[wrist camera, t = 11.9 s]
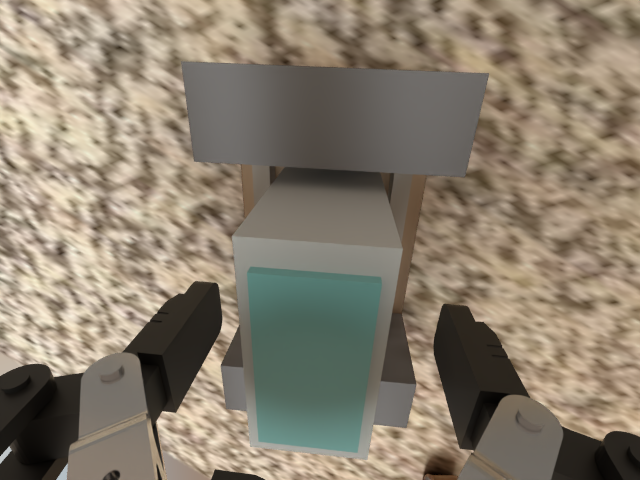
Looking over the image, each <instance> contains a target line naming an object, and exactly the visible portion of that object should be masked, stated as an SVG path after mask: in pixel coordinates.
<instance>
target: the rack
mask: <svg viewBox="0 0 640 480" xmlns="http://www.w3.org/2000/svg"><path fill="white" fill-rule="evenodd" d="M181 64H182V72H183V79H184V87H185V95H186V102H187V110H188V118H189V125H190V133H191V141H192V148H193V156H194V162H211V163H228V164H241V172H242V187H243V201H244V216H245V218H246V217H247V216H248V214H249V213H250V212H251V211H252V209H253V208H254V207H255V205H256V204H257V203H258V201H259V200H260V199H261V198H262V196H263V195H264V194H265V192H266V191H267V190H268V188H269V187H270V186H271V184H272V183H273V182H274V181H275V179H276V178H277V177H278V175H279V174H280V173H281V171H282V170H283V169H284V167H296V168H314V169H331V170H348V171H365V172H380V174H381V177H382V180H383V184H384V187H385V190H386V194H387V197H388V201H389V204H390V207H391V211H392V214H393V217H394V221H395V224H396V227H397V231H398V234H399V238H400V241H401V244H402V248H403V251H402V257H401V263H400V268H399V274H398V280H397V286H396V292H395V298H394V304H393V310H392V316H391V322H390V328H389V334H388V340H387V346H386V352H385V358H384V364H383V370H382V375H381V381H380V387H379V393H378V399H377V405H376V411H375V417H374V423H373V424H374V425H383V426H393V427H402V428H406V427H407V423H408V418H409V414H410V410H411V406H412V401H413V397H414V393H415V389H416V380H415V376H414V371H413V366H412V361H411V356H410V352H409V347H408V342H407V337H406V333H405V328H404V323H403V318H402V309H403V303H404V298H405V292H406V287H407V281H408V276H409V270H410V265H411V259H412V254H413V248H414V243H415V237H416V232H417V226H418V221H419V215H420V210H421V204H422V199H423V193H424V188H425V182H426V177H427V175H434V176H451V177H465V175H466V170H467V166H468V162H469V158H470V153H471V149H472V145H473V140H474V136H475V132H476V128H477V123H478V119H479V115H480V110H481V106H482V102H483V98H484V93H485V89H486V85H487V81H488V76H489V73H464V72H438V71H413V70H387V69H361V68H336V67H310V66H284V65H259V64H233V63H208V62H182V61H181ZM221 372H222V379H223V387H224V395H225V402H226V409H232V410H241V411H247V404H246V393H245V381H244V369H243V358H242V346H241V335H240V325H239V327H238V329H237V331H236V333H235V336H234V338H233V340H232V342H231V344H230V346H229V349H228V351H227V353H226V355H225V357H224V360H223V362H222V364H221Z"/></svg>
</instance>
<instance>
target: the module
mask: <svg viewBox="0 0 640 480" xmlns="http://www.w3.org/2000/svg"><path fill="white" fill-rule="evenodd" d="M232 242H233V254H234V265H235V277H236V288H237V300H238V312H239V323H240V335H241V346H242V358H243V369H244V381H245V393H246V404H247V416H248V427H249V439H250V447H258V448H267V449H276V450H285V451H293V452H302V453H311V454H320V455H329V456H337V457H346V458H355V459H364V460H367V459H368V453H369V447H370V441H371V435H372V429H373V423H374V417H375V411H376V405H377V399H378V393H379V387H380V381H381V375H382V370H383V364H384V358H385V352H386V346H387V340H388V334H389V328H390V322H391V316H392V310H393V304H394V298H395V292H396V286H397V280H398V274H399V268H400V263H401V257H402V251H403V248H402V244H401V241H400V238H399V234H398V231H397V227H396V224H395V221H394V217H393V214H392V211H391V207H390V204H389V201H388V197H387V194H386V190H385V187H384V184H383V180H382V177H381V174H380V172H365V171H348V170H331V169H314V168H296V167H284V169H283V170H282V171H281V173H280V174H279V175H278V177H277V178H276V179H275V181H274V182H273V183H272V184H271V186H270V187H269V188H268V190H267V191H266V192H265V194H264V195H263V196H262V198H261V199H260V200H259V201H258V203H257V204H256V205H255V207H254V208H253V209H252V211H251V212H250V213H249V214H248V216H247V217H246V218H245V220H244V221H243V222H242V224H241V225H240V226H239V228H238V229H237V230H236V231H235V233H234V234H233V235H232Z"/></svg>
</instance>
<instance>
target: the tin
mask: <svg viewBox="0 0 640 480" xmlns="http://www.w3.org/2000/svg"><path fill="white" fill-rule="evenodd" d="M457 479H458V476H455V475H430V474H426V475H425V476H424V479H423V480H457Z"/></svg>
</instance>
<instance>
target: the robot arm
mask: <svg viewBox="0 0 640 480" xmlns="http://www.w3.org/2000/svg"><path fill="white" fill-rule="evenodd" d="M221 326H222V310H221V302H220V294H219V287H218V284H217V283H210V282H199V281H195V282H194V283H193V284H192V285H191V286H190V288H189V289H188V290H187V291H186V293H185V294H178V295H176V296H175V297H173V298H171V299H170V300H168V301H167V302H166V303H165V304H164V305H163V306H162V307H161V308H160V309H159V311H158V313H157V314H155V315H154V316H153V318H152V319H151V320H150V322H148V323H147V324H146V326H145V327H144V328H143V329H142V330H141V331H140V333H139V334H138V335H137V336H136V337H135V338H134V339H133V341H132V342H131V343H130V344H129V345H128V346H127V348H126V349H125V350H124V351H123V352H122V353H115V354H111V355H109V356H106V357H104V358H102V359H100V360H98V361H96V362H95V363H94V364H92V365H91V366H90V367H89V368H88V369H87V370H86V371H85V373H79V374H72V375H66V376H59V377H53V375H52V372H51V370H50V369H49V367H48V366H46V365H43V364H30V365H25V366H22V367H18V368H16V369H13V370H11V371H9V372H7V373H5V374H3V375H2V376H0V456H1V455H2V454H3V452H4V451H5V450H6V449H7V448H8V447H9V446H10V448H11V450H12V451H11V452H10V453H9V454H8V456H7V457H6V458H5V459H4V460H3V461H2V463H1V464H0V480H56V479H57V477H58V476H59V475H60V473H61V472H62V470H63V469H64V467H65V466H66V465H67V463H68V472H67V480H167V476H166V470H165V464H164V459H163V453H162V447H161V442H160V436H159V431H158V425H157V422H156V421H157V419H158V417H159V416H160V414H161V412H162V411H166V412H175V413H176V412H177V410H178V408H179V406H180V404H181V402H182V401H183V399H184V397H185V395H186V393H187V391H188V390H189V388H190V386H191V384H192V382H193V381H194V379H195V377H196V375H197V373H198V371H199V370H200V368H201V366H202V364H203V362H204V360H205V359H206V357H207V355H208V353H209V351H210V350H211V348H212V346H213V344H214V342H215V340H216V339H217V337H218V335H219V333H220V330H221ZM434 356H435V360H436V364H437V367H438V371H439V375H440V378H441V382H442V385H443V389H444V393H445V396H446V400H447V404H448V407H449V411H450V415H451V418H452V422H453V426H454V429H455V433H456V437H457V440H458V444H459V448H460V449H468V450H474V453H471V455H470V456H469V458H468V460H467V462H466V464H465V466H464V467H463V469H462V471H461V473H460V475H459V477H458V479H457V480H640V437H639V436H636V435H634V434H631V433H627V432H622V431H613V432H610V433H608V434H607V435H606V436H605V438H604V439H603V441H602V442H601V441H599V440H596V439H593V438H591V437H588V436H585V435H582V434H580V433H577V432H574V431H572V430H569V429H567V428H564V427H562V426H561V424H560V422H559V421H558V419H557V418H556V417H555V415H554V414H553V413H552V412H551V411H550V410H549V409H547V408H546V407H545V406H543V405H542V404H540V403H539V402H537V401H535V400H533V399H531V398H530V397H529V395H528V393H527V391H526V389H525V387H524V385H523V384H522V382H521V380H520V378H519V376H518V374H517V372H516V371H515V369H514V367H513V365H512V363H511V361H510V359H508V356H507V354H506V352H505V350H504V348H502V345H501V343H500V341H499V339H498V337H497V335H496V334H495V333H494V332H493V331H492V330H491V329H490V328H489V327H488V326H487V325H486V324H485V323H484V322H475V320H474V318H473V316H472V313H471V311H470V309H469V308H468V306H463V305H452V304H443V306H442V308H441V312H440V316H439V321H438V325H437V329H436V333H435V337H434ZM211 480H265V479H263V478H261V477H259V476H256V475H252V474H244V473H237V472H230V471H222V470H215V471H214V474H213V476H212V479H211Z"/></svg>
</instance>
